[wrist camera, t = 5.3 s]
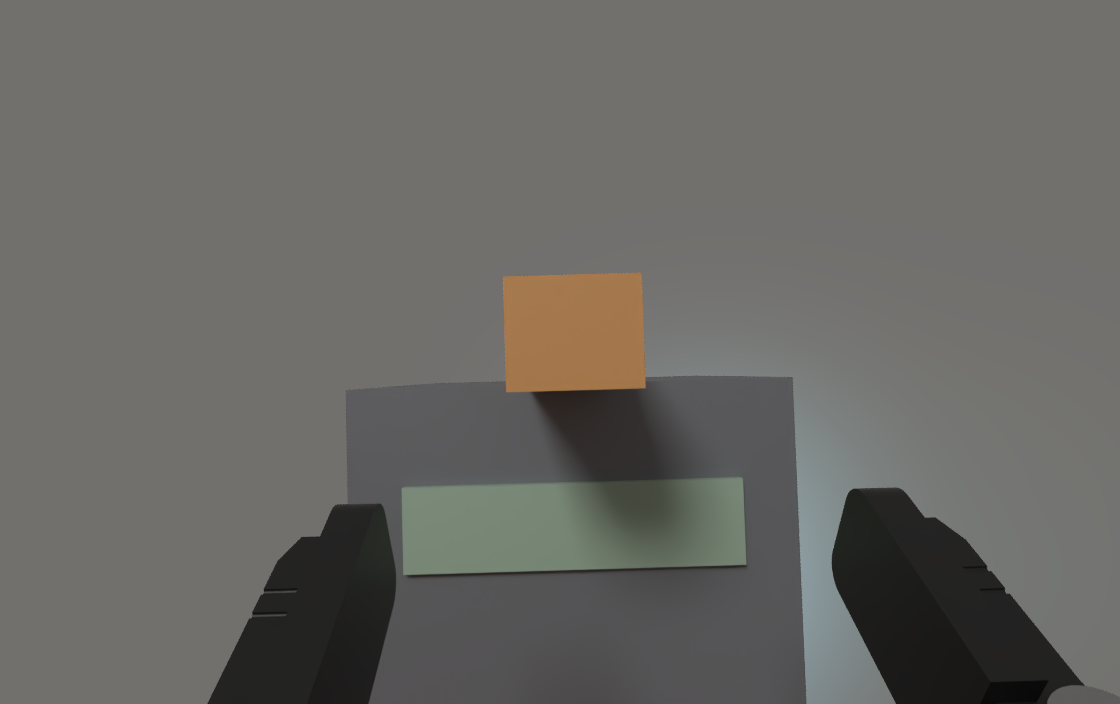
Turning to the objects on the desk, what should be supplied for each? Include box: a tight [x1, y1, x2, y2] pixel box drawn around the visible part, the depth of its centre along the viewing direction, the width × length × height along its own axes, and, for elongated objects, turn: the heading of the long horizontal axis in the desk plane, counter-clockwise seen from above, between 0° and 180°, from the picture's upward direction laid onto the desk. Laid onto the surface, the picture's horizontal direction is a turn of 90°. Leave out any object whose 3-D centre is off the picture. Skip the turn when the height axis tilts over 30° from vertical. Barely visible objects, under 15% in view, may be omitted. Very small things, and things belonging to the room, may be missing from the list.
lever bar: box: [503, 273, 646, 392], centre depth 28 cm, size 29×4×4 cm, turn 0°
